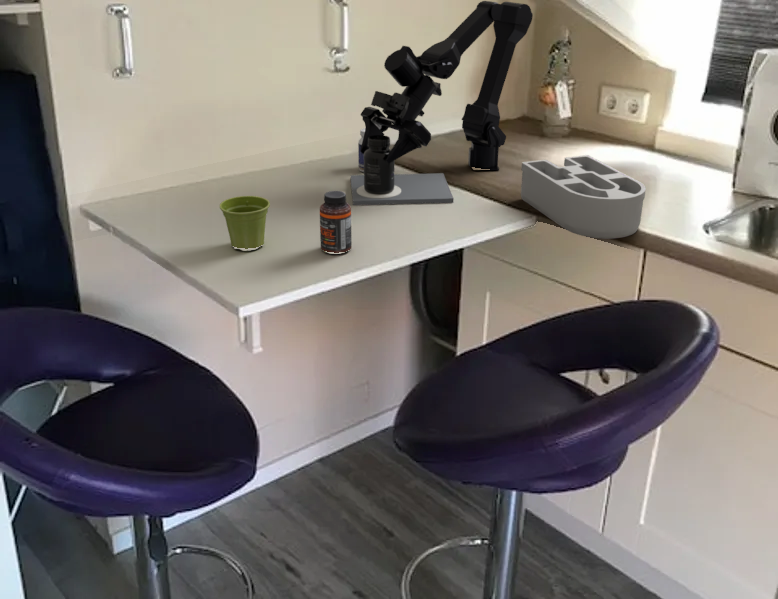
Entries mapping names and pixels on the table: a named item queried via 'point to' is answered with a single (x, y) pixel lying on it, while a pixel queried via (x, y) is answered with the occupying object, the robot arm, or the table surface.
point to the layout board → (405, 190)
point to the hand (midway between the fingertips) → (374, 157)
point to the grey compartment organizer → (584, 196)
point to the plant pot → (245, 220)
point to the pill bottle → (360, 155)
